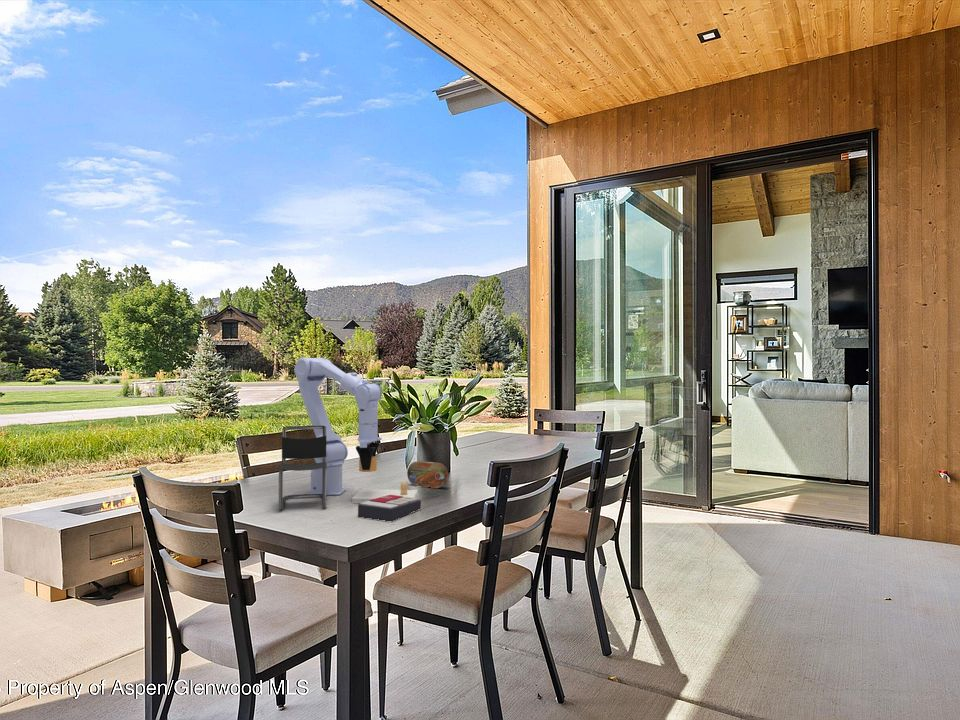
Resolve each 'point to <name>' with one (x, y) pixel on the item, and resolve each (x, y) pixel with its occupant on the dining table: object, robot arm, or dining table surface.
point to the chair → (303, 451)
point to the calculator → (388, 507)
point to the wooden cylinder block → (372, 467)
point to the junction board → (383, 494)
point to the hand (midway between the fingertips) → (367, 468)
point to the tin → (427, 474)
